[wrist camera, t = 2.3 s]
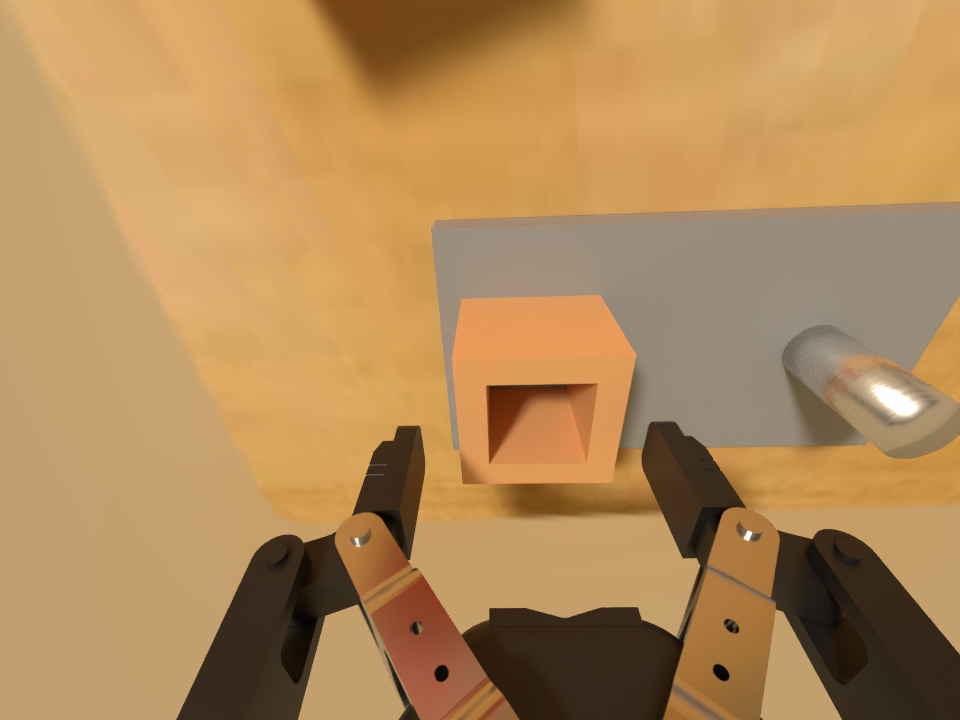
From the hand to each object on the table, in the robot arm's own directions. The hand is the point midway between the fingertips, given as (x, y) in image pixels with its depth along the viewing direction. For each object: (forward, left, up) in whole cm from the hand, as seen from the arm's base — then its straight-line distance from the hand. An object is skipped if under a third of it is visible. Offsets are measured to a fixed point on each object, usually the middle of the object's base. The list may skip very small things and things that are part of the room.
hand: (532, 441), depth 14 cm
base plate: (0, +7, -7) cm, 10 cm away
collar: (0, 0, -6) cm, 6 cm away
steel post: (0, +13, -7) cm, 15 cm away
